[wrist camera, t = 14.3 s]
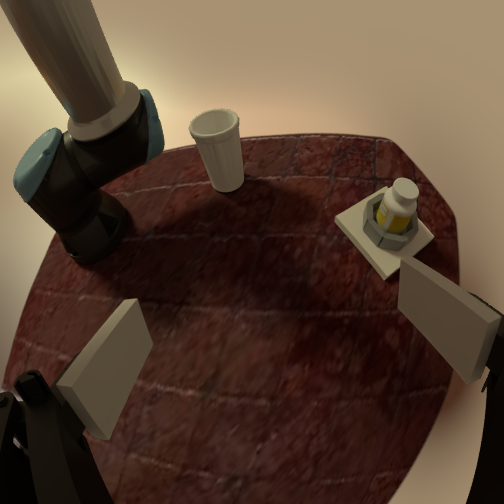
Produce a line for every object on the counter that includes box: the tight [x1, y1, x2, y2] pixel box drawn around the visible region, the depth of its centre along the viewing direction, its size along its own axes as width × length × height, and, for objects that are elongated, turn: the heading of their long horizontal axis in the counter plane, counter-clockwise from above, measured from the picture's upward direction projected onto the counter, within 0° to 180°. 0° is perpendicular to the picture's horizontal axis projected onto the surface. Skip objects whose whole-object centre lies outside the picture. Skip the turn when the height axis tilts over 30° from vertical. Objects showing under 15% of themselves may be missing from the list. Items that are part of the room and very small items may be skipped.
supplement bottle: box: [374, 178, 419, 236], centre depth 38 cm, size 5×5×10 cm
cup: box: [189, 108, 244, 192], centre depth 46 cm, size 8×8×14 cm
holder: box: [334, 187, 434, 280], centre depth 41 cm, size 13×13×4 cm
